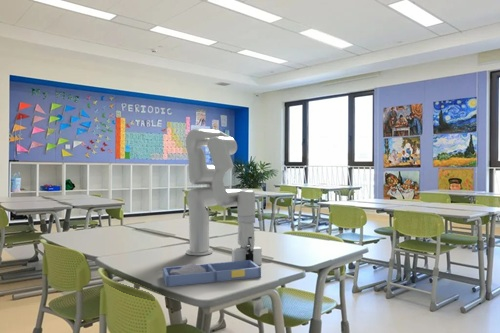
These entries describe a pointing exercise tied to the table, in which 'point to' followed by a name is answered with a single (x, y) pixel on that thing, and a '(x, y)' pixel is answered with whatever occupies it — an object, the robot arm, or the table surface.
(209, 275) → the blue divided tray
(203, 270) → the grey grainy mound
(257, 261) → the white rectangular block
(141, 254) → the table surface
